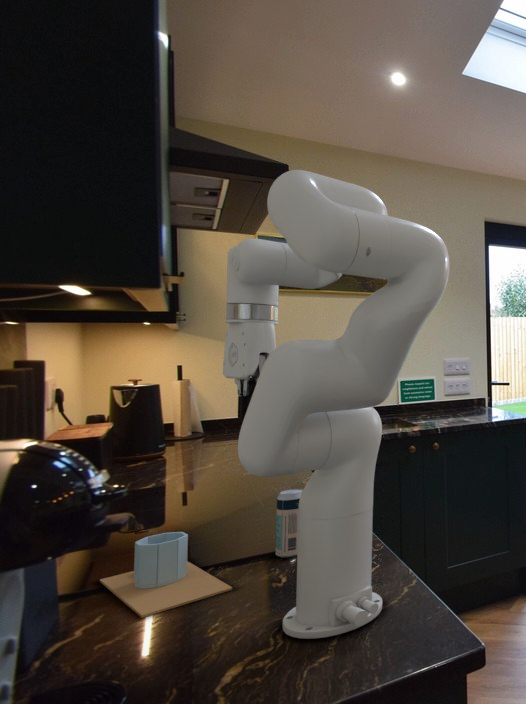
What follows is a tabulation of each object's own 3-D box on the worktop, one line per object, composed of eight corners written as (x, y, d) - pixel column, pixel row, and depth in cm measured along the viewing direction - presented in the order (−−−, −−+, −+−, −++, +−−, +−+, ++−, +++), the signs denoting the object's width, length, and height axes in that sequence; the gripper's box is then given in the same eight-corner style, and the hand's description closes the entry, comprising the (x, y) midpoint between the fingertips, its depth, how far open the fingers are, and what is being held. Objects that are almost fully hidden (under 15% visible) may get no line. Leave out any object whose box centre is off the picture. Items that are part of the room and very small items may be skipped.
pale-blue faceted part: (141, 591, 83) (121, 575, 89) (190, 578, 88) (168, 563, 95) (143, 547, 83) (122, 534, 90) (192, 536, 89) (169, 524, 95)
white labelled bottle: (311, 550, 103) (312, 488, 103) (292, 559, 98) (294, 495, 98) (288, 549, 103) (290, 487, 103) (269, 558, 98) (270, 494, 99)
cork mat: (232, 589, 85) (232, 587, 85) (141, 618, 76) (141, 615, 76) (183, 560, 97) (183, 558, 97) (99, 581, 88) (99, 579, 88)
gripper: (210, 315, 95) (207, 417, 94) (245, 312, 87) (243, 423, 86) (258, 318, 101) (255, 413, 100) (295, 315, 93) (293, 419, 92)
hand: (250, 417), depth 93 cm, fingers closed
